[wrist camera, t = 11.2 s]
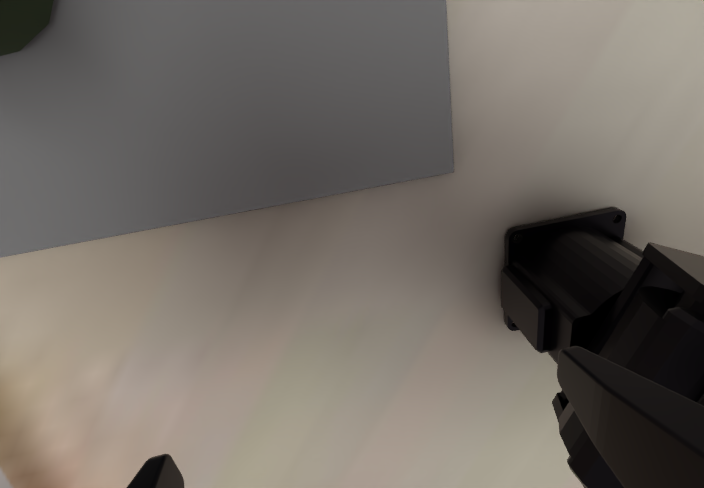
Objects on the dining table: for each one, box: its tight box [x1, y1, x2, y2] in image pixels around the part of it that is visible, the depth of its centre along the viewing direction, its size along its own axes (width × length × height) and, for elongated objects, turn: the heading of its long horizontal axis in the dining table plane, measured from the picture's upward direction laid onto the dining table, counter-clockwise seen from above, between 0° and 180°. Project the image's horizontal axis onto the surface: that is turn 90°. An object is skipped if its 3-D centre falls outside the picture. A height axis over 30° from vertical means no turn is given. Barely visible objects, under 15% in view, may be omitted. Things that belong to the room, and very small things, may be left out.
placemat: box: [0, 0, 454, 257], centre depth 17 cm, size 24×16×1 cm, turn 98°
